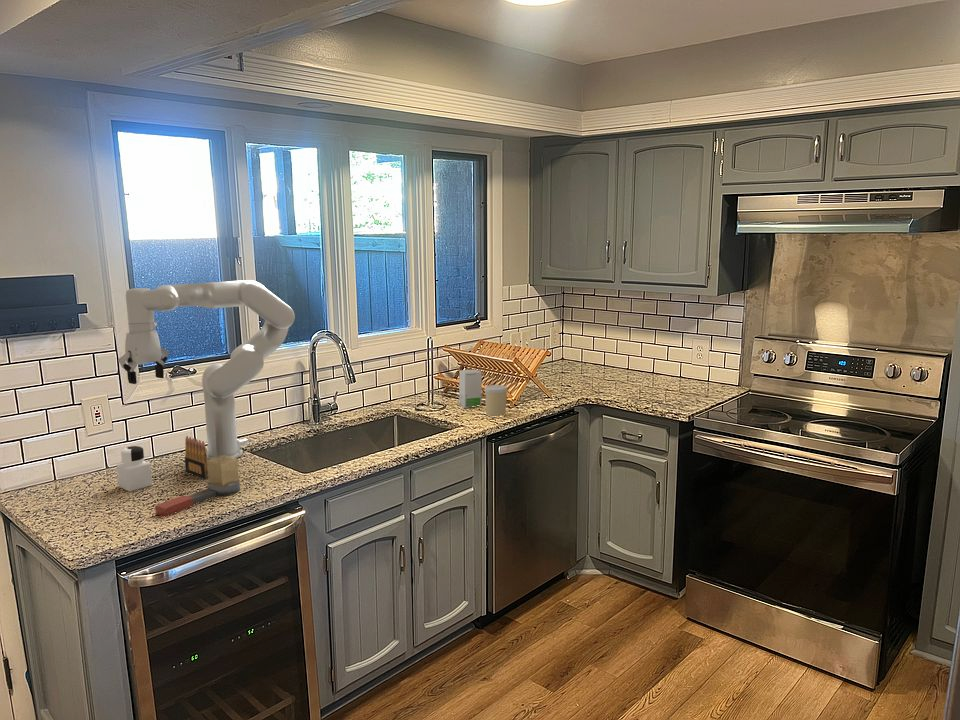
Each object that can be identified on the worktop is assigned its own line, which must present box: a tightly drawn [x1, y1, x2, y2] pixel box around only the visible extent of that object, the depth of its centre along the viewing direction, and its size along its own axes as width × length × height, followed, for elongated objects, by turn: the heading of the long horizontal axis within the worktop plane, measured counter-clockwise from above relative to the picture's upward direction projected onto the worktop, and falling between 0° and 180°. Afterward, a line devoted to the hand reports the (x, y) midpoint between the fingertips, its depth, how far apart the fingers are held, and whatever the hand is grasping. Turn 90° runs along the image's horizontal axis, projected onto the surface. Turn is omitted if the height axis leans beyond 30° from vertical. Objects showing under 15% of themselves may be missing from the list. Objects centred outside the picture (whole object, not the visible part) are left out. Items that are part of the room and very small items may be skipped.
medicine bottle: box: [116, 445, 153, 492], centre depth 218 cm, size 7×7×12 cm
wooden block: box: [207, 455, 240, 487], centre depth 214 cm, size 6×6×7 cm
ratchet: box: [154, 479, 241, 518], centre depth 208 cm, size 26×9×6 cm, turn 150°
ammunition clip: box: [184, 435, 208, 480], centre depth 227 cm, size 11×2×12 cm, turn 53°
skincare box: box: [458, 369, 483, 409], centre depth 312 cm, size 8×7×16 cm
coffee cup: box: [484, 384, 508, 416], centre depth 297 cm, size 9×9×12 cm
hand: (146, 380), depth 232 cm, fingers open, 9 cm apart
